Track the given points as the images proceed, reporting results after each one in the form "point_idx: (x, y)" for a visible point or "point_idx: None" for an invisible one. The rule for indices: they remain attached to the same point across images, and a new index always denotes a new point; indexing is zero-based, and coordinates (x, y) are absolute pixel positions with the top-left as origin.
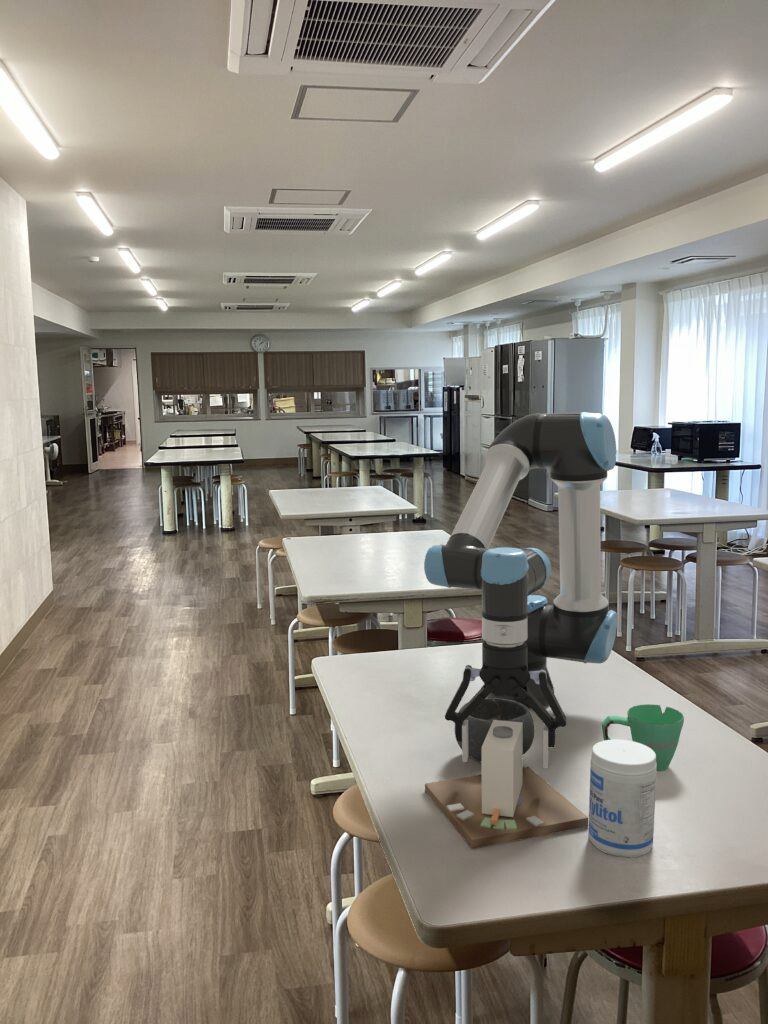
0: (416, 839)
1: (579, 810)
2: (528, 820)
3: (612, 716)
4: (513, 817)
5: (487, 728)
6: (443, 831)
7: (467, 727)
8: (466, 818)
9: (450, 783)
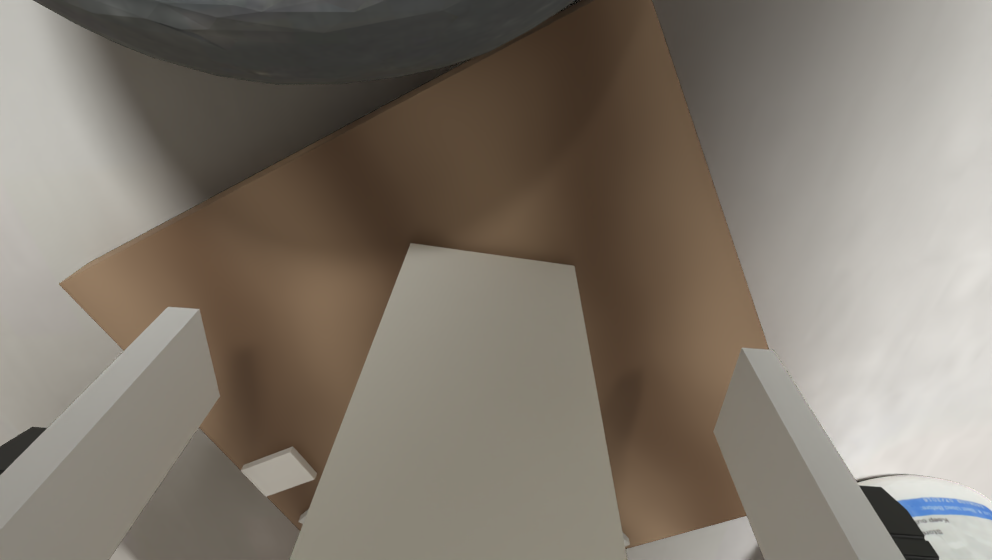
0: (208, 554)
1: None
2: None
3: None
4: None
5: (219, 71)
6: (277, 516)
7: (44, 545)
8: None
9: (186, 271)
